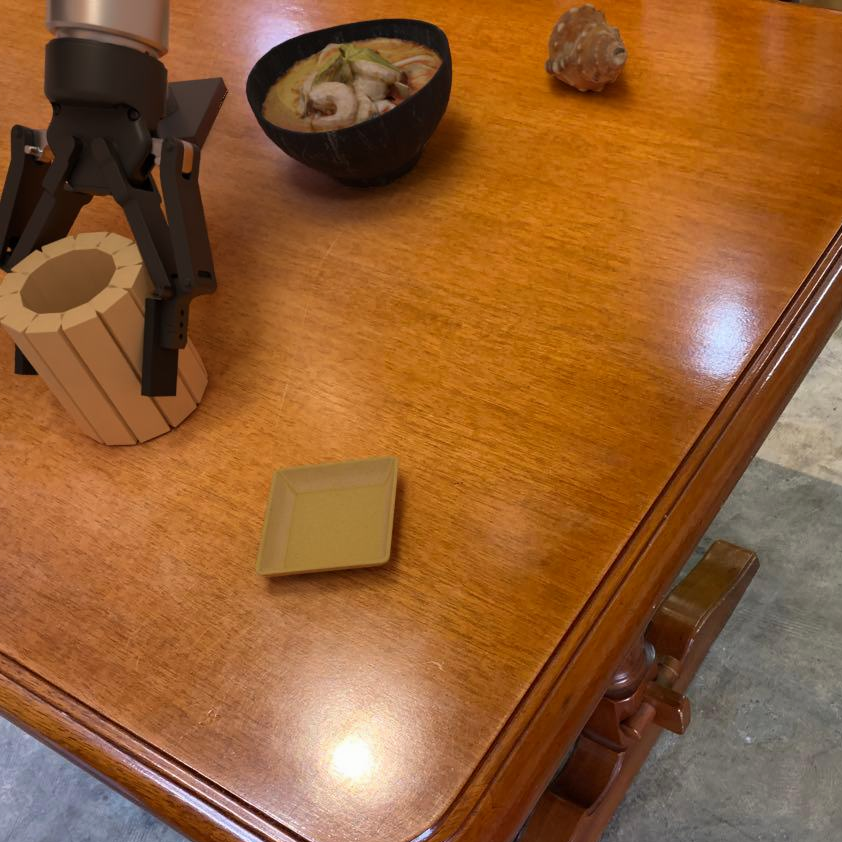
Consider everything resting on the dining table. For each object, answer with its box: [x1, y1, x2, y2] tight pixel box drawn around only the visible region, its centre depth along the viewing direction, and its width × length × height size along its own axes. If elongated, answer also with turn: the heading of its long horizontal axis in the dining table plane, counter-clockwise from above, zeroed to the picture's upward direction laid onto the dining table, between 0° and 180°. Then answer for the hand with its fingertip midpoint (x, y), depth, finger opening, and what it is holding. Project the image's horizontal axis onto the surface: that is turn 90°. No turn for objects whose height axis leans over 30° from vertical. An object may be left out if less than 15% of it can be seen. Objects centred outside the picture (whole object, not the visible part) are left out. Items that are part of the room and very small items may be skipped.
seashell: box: [543, 3, 628, 92], centre depth 92 cm, size 9×8×10 cm
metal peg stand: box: [158, 76, 228, 150], centre depth 96 cm, size 10×10×12 cm
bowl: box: [245, 17, 453, 190], centre depth 87 cm, size 17×17×10 cm
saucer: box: [254, 455, 400, 577], centre depth 66 cm, size 9×9×2 cm
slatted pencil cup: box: [0, 231, 209, 446], centre depth 73 cm, size 10×10×11 cm
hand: (94, 385), depth 73 cm, fingers closed on slatted pencil cup, 10 cm apart
